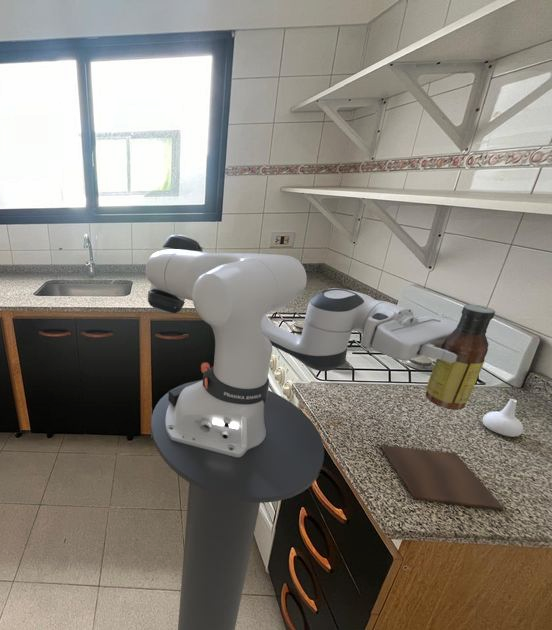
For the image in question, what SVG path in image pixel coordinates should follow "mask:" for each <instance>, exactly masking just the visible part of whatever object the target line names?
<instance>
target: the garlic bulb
mask: <svg viewBox="0 0 552 630" xmlns="http://www.w3.org/2000/svg"><path fill="white" fill-rule="evenodd" d="M517 403H518V400H517V399H515V398H509V400H508V402H507V403H506V404H505V406H504V407H503V408H502V409H501V410H500V411H496V410H495V411H490V412H487V413H486V414H484V415H483V417H482V424H483V426H485V428H486V429H488V430H490V431H492V432H494V433H496V434H499V435H501V436H505V437H513V438H515V437H519V436H521V435H522V434H523V433H524V425H523V422H521V420H519V418H517V417H516V408H517Z"/></svg>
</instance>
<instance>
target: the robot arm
mask: <svg viewBox="0 0 552 630" xmlns="http://www.w3.org/2000/svg"><path fill="white" fill-rule="evenodd" d="M145 277H146V278H147V280H148V282H149V284H150V286H149V290H148V292H147V303H148V304H149V306H150V307H152V308H153V309H154V310H155V311H157V312H158V313H162V314H167V315H169V314H177V313H179V312H180V311H181V310H183V307H184V306H185V303H186V302H185V300H189V301H192V303H193V307H194V309H195V311H196V313H197V315H198V316H199V317H200V318H201V319H202V321H204V322H205V323H207V325H209V326H210V327H211V329H212V331H213V332H212V333H213V335H214V342H215V343H214V357H213V359H214V360H213V366H211V365H210V363H208V362H202V363H201V365H200V371H201V373H202V379H200V380H201V381H199V380H198V381H199V382H197V383H195V384H192V385H190V386H187V387H185V386H181V385H180V386H181V387H178V386H177V387H178V388H176V387H175V389H174V388H172V389H170V390H168V392H169V397H168V401H170V402H171V403H170V405H169V407H168V409H167V412H166V418H165V427H166V432H167V434H168V436H169V437H170V439H171V440H173V441H177V442H180V443H184V444H188V445H192V446H195V447H199V448H203V449H207V450H210V451H214V452H218V453H222V454H226V455H229V456H233V457H241V456H243V455H244V454H245V453H246V451H247V450H249V449H251V448H253V447H256V446H257V445H259V444H260V443H262V441H263V440H264V438H265V436H266V429H265V424H264V403H265V401H266V397H267V395H268V390H269V388H270V379H269V372H270V366H271V360H272V354H273V348H276V349H278V350H280V351H282V352H284V353H286V354H287V355H289V356H291V357H292V358H294V359H296V360H298V362H300V363H302V365H305V366H306V367H308V368H310V369H311V370H312V369H313V370H315V371H319V372H330V371H333V370H336V369H338V368H339V367H341V366H343V365H344V364H345V363H346V360H347V359H346V358H347V354H348V353H347V352H348V345H349V342H350V340H351V339H350V338H351V335H352V332H353V331H354V332H358V333H360V334H361V335H362V336H361V338H360V339H361V340H360V346H361V347H364V348H367V349H372V350H374V351H376V352H378V353H380V354H382V355H385V356H387V357H389V358H392V359H394V360H398V361H409V360H412V359H415V358H418V357H421V356H423V357H426V358H430V359H435V360H436V359H440V360H444V361H446V362H449V363H454V362H457V361H458V360H459V357H460V354H459V353H457V352H454V351H452V350H444V349H441V346H442V344H443V342H444V341H445V339H446V338H447V337H448V336H449V335H450V334H451V333H452V332H453V331H454V330H455V329H456V328H457V325H458V324H459V322H458V321H455V320H452V319H448V318H444V317H441V316H436V315H424V316H419V317H418V316H417V317H415V315H414V311H412V309H411V308H408V307H406V306H401V305H398V304H396V303H392V302H390V301H386V300H378V299H375V298H374V297H372V296H370V295H368V294H365V293H362V292H358V291H356V290H355V291H354V290H350V289H345V288H338V287H332V288H331V287H330V288H328V289H325V290H323V291H321V292H319V293H317V294H316V295H314V296H312V297H311V298H310V299H309V302H308V305H307V309H306V312H305V317H304V323H303V328H302V331H301V336H299V335H297V334H295V333H293V332H291V331H289V330H287V329H284V328H282V327H280V326H279V325H276V324H274V323H273V322H272V321H270V319H269V318H268V316H267V314H268V313H271V312H273V311H276V310H279V309H282V308H285V307H286V306H288V305H289V304H291V303H292V302H294V301H295V300H296V299H298V297H300V296H301V295H302V293H303V292H304V291H305V289H306V286H307V282H308V281H307V279H308V278H307V277H308V276H307V272H306V270H305V266H303V264H302V263H301V261H299V260H298V259H297V258H295V257H293V256H291V255H287V254H275V253H273V254H272V253H271V254H270V253H269V254H268V253H251V252H249V253H247V252H246V253H245V252H206V251H203V248H202V246H201V245H200V243H199V242H198V241H197V240H195V239H194V238H193V237H191V236H189V235H186V234H171V235H170V236H168V237H167V238H166V239H165V241H164V243H163V246H162V250H158V251H156V252H154V253H153V254H151V256H150V257H149V258H148V260H147V261H146V263H145Z"/></svg>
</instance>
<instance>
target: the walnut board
mask: <svg viewBox="0 0 552 630" xmlns="http://www.w3.org/2000/svg"><path fill="white" fill-rule="evenodd" d="M380 449H381V451H382V452H383V453H384V455H385V457H386V458H387V459H388V461H389V463H390V465H391V466H392V468H393V469H394V471H395V472H396V474H397V475H398V476H399V478H400V480H401V482H402V483H403V484H404V486H405V488H406V489H407V491H408V492H409V494H410V496H411V497H412V498H413V500H414V499H415V500H420V501H429V502H436V503H444V504H451V505H459V506H465V507H473V508H481V509H482V508H483V509H489V510H497V511H503V510H504V508H505V507H504V506H503V505H502V504H501V503H500V502H499V501H498V500H497V498H496V497H495V496H494V495H493V494H492V493H491V492H490V491H489V489H488V488H486V486H485V485H484V484H483V483H482V482H481V481H480V479H479V478H478V477H477V476H476V475H475V473H474V472H472V470H471V469H470V468H469V467H468V466H467V465H466V463H464V461H463V460H462V459H461V458H460V457H459V455H457V453H455V452H453V453H451V452H443V451H434V450H425V449H416V448H407V447H400V446H389V445H381V446H380Z"/></svg>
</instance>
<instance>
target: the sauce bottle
mask: <svg viewBox="0 0 552 630" xmlns="http://www.w3.org/2000/svg"><path fill="white" fill-rule="evenodd" d="M462 307H463V308H462V310H461V316H460V318H459V319H460V320H459V324H458V325H457V328H456V329H455V330H454V331H453V332H452V333H451V334H450V335H449V336H448V337H447V338H446V339H445V341H444V342H443V344H442V346H441V349H444V350H452V351H454V352H457V353H459V354H460V357H459V360H458V361H457V362H454V363H449V362H446V361H444V360H440V359H435V362H434V365H433V368H432V371H431V373H430V377H429V379H428V381H427V384H426V391H425V397H426V398H427V400H428V401H429V402H431V403H432V404H433V405H435V406H438V407H441V408H444V409H446V410H452V411H460V410H462V409H464V408H465V407H466V404H467V402H469V399H470V398H471V395H472V393H473V391H474V388H475V385H476V383H477V380H478V378H479V375H480V374H481V370H482V368H483V366H484V364H485V358H486V356H487V354H488V351H489V345H490V344H489V341H488V339H487V330H488V327H489V325H490V322H491V320H493V319H494V318H495V314H496V310H495V309H493V308H491V307H488V306H484V305H481V304H480V305H479V304H466V305H464V306H462Z"/></svg>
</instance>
